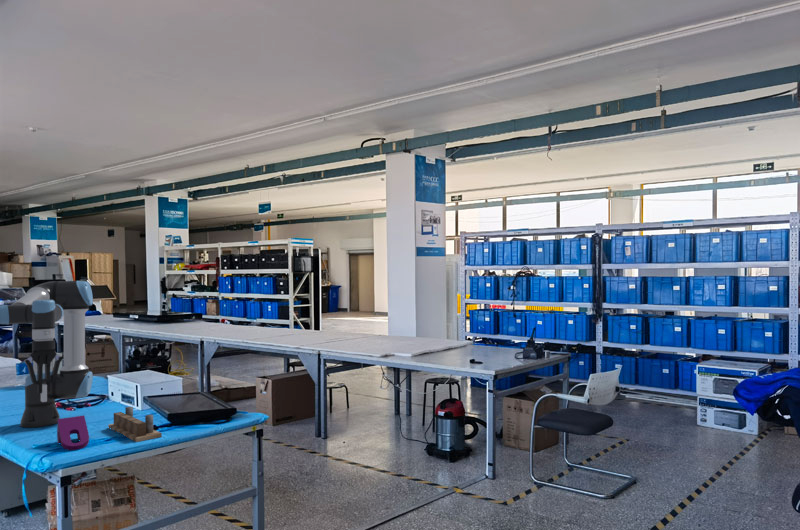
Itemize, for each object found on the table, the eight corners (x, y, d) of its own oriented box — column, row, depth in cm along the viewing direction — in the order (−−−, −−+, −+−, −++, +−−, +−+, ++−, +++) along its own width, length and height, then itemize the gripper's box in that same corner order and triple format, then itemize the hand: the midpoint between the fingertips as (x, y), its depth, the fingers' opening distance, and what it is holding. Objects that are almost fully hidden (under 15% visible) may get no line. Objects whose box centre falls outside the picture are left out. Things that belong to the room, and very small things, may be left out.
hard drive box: (63, 385, 355) (62, 353, 355) (52, 387, 348) (52, 354, 348) (43, 384, 359) (43, 352, 360) (32, 386, 352) (32, 354, 352)
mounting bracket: (89, 460, 225) (83, 432, 239) (90, 443, 223) (84, 415, 236) (61, 465, 220) (56, 435, 233) (62, 448, 217) (57, 418, 230)
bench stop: (108, 427, 252) (108, 408, 252) (132, 423, 259) (131, 404, 259) (136, 442, 229) (136, 420, 229) (161, 436, 236) (161, 416, 236)
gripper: (26, 342, 214) (26, 405, 213) (65, 339, 223) (65, 399, 222) (21, 340, 219) (21, 402, 218) (59, 337, 228) (60, 397, 228)
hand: (43, 401), depth 220 cm, fingers closed
